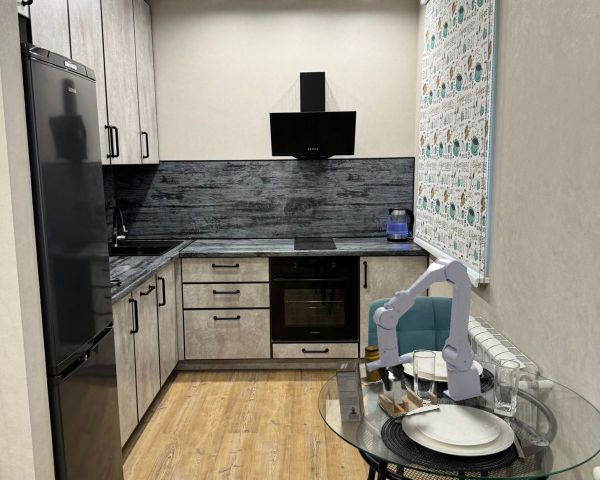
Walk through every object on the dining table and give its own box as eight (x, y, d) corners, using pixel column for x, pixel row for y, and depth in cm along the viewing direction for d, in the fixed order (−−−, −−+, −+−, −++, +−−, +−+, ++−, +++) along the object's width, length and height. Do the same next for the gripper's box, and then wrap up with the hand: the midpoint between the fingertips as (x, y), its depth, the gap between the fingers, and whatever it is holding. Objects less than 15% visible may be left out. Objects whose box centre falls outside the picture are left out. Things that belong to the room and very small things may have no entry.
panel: (391, 392, 177) (389, 371, 176) (402, 403, 168) (400, 380, 168) (383, 394, 177) (381, 372, 176) (395, 404, 168) (392, 382, 167)
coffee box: (344, 409, 177) (339, 360, 175) (364, 408, 176) (359, 359, 174) (340, 422, 168) (335, 371, 166) (362, 421, 167) (356, 370, 165)
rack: (422, 394, 181) (421, 383, 181) (439, 408, 170) (438, 397, 169) (378, 403, 178) (377, 392, 178) (393, 418, 166) (391, 406, 166)
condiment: (387, 381, 196) (384, 348, 195) (364, 385, 194) (361, 352, 193) (380, 374, 203) (377, 342, 202) (358, 378, 201) (354, 346, 200)
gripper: (404, 339, 176) (408, 380, 178) (361, 347, 173) (365, 389, 174) (414, 345, 169) (418, 388, 171) (369, 353, 166) (373, 397, 168)
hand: (392, 389), depth 172 cm, fingers closed on panel, 2 cm apart
